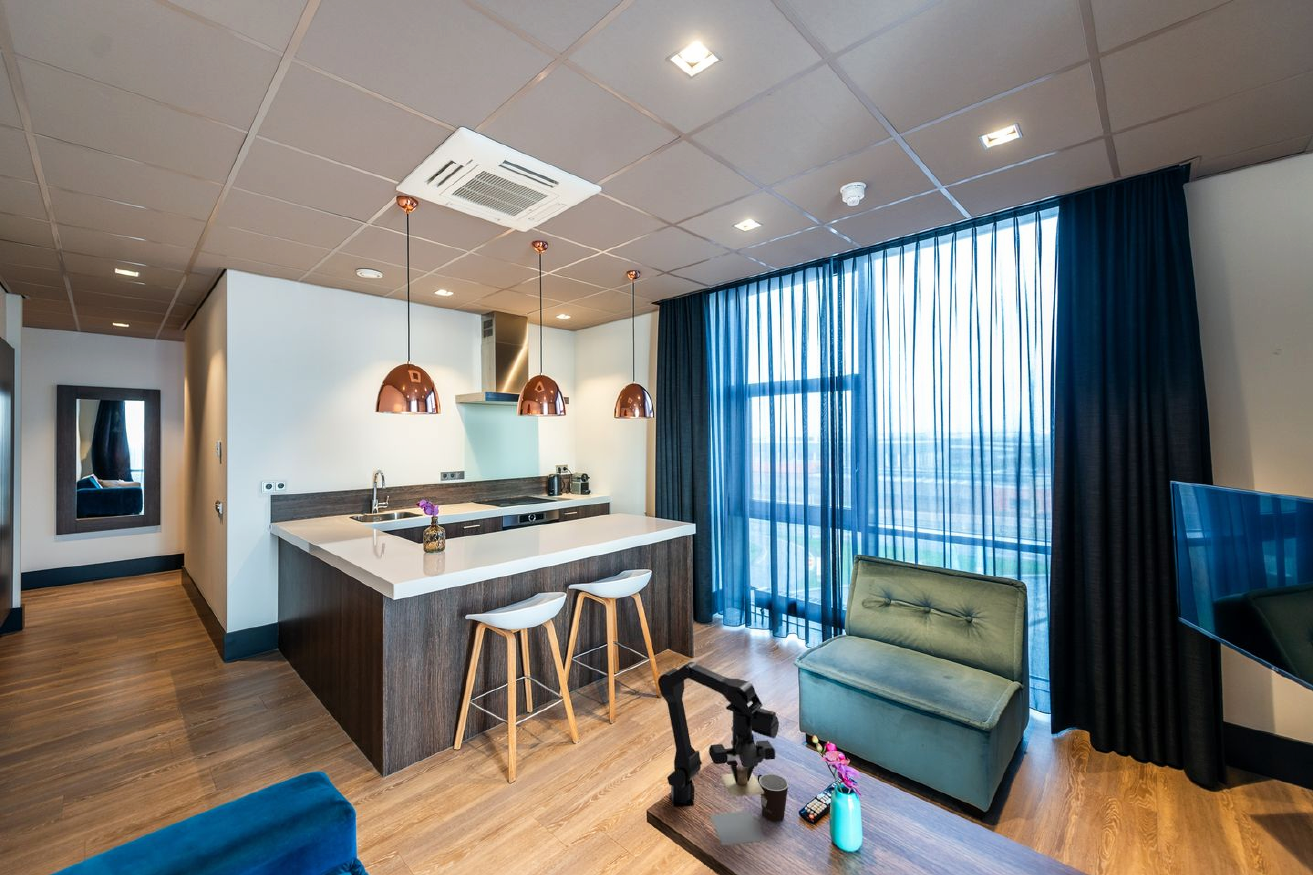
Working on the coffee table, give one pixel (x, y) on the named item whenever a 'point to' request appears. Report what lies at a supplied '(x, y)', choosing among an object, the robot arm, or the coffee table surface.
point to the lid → (741, 783)
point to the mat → (737, 828)
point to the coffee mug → (773, 796)
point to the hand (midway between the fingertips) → (741, 781)
